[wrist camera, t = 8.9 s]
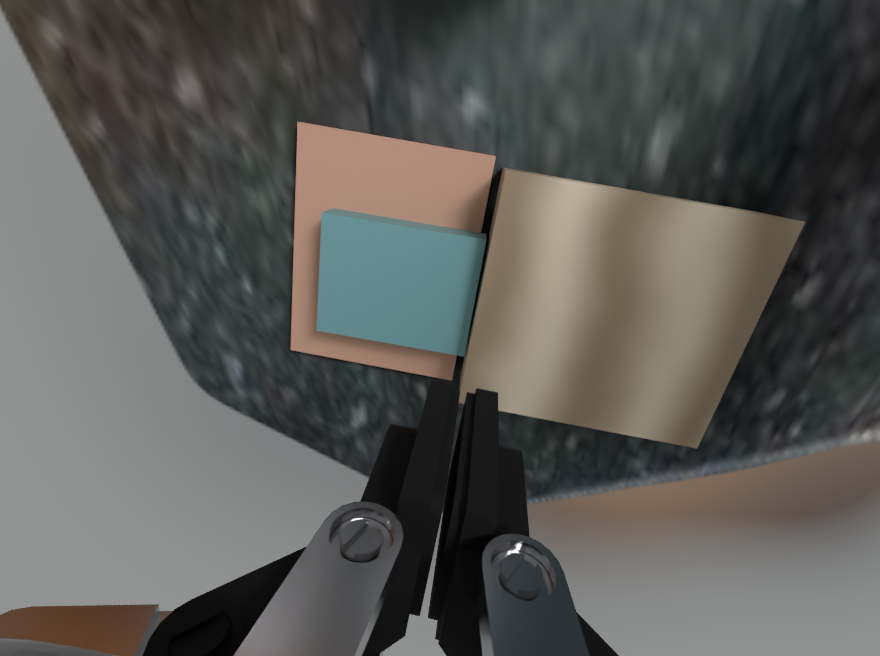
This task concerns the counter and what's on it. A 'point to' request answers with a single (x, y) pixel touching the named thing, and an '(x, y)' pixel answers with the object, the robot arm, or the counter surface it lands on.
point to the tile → (397, 280)
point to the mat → (383, 194)
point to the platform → (618, 304)
